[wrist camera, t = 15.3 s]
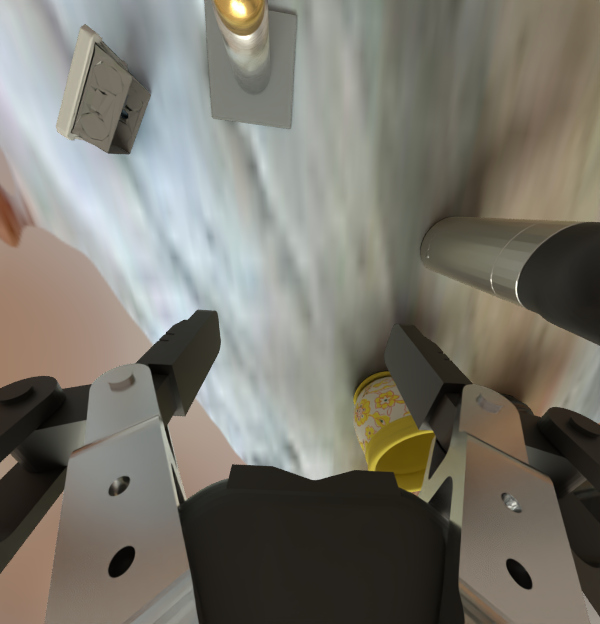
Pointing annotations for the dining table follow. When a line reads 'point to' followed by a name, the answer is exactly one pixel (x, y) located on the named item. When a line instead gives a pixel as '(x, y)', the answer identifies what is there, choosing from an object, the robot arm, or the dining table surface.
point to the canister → (246, 41)
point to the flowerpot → (390, 432)
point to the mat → (278, 94)
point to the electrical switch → (101, 97)
